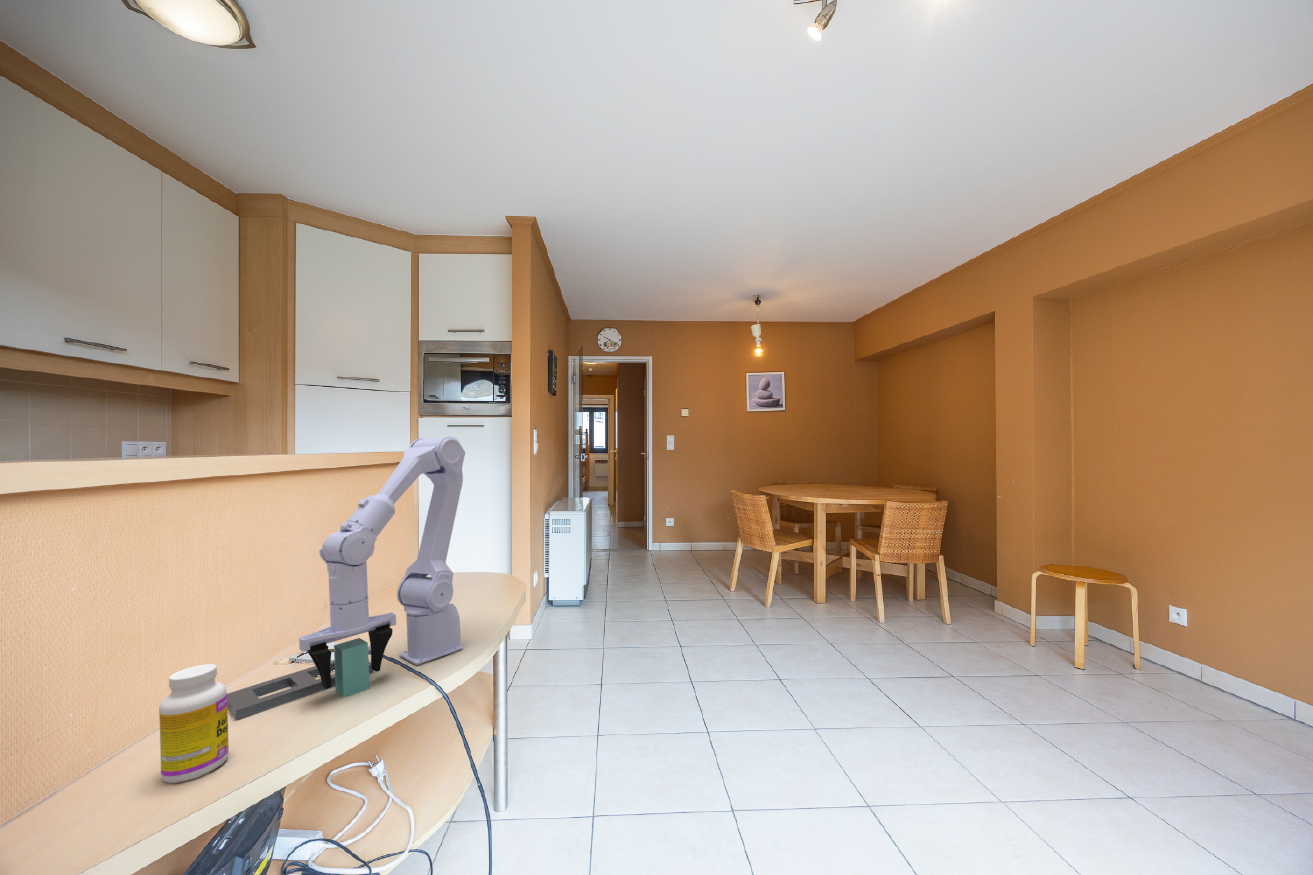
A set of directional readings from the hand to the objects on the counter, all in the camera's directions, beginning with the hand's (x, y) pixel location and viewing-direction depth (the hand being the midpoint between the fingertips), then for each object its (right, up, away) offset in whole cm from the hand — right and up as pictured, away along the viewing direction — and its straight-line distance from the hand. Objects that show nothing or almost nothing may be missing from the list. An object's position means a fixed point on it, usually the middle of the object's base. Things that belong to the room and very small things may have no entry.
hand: (352, 678), depth 87 cm
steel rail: (-10, -3, +2) cm, 10 cm away
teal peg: (0, -2, 0) cm, 2 cm away
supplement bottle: (-8, -2, -21) cm, 22 cm away
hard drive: (-14, -4, +16) cm, 21 cm away
